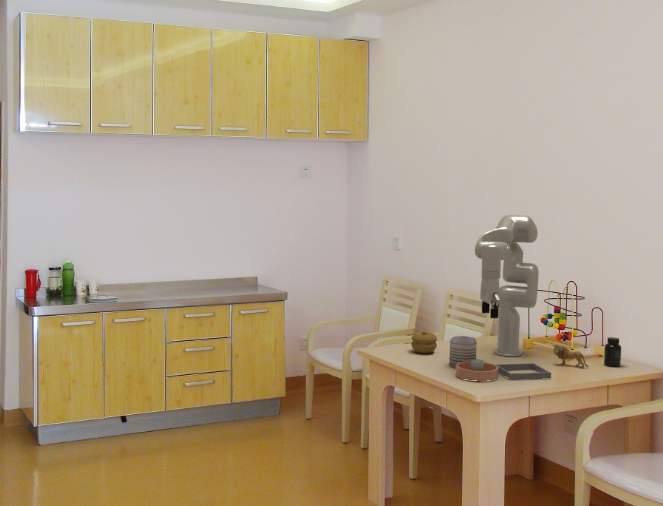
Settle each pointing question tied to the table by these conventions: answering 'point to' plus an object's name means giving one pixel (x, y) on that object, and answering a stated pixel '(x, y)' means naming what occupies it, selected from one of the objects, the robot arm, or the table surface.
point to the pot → (424, 342)
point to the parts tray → (540, 375)
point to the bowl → (477, 372)
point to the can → (462, 350)
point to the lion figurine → (568, 355)
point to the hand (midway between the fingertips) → (489, 315)
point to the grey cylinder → (477, 365)
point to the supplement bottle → (612, 353)
